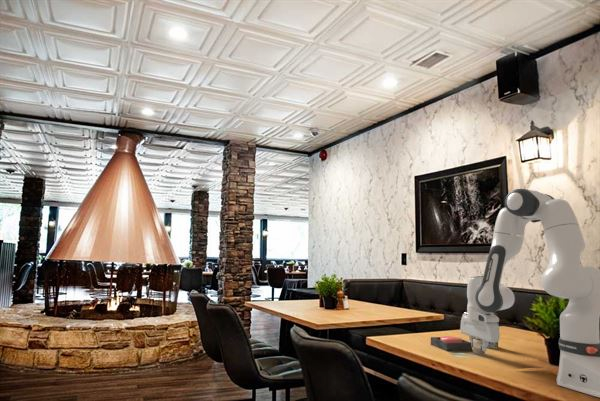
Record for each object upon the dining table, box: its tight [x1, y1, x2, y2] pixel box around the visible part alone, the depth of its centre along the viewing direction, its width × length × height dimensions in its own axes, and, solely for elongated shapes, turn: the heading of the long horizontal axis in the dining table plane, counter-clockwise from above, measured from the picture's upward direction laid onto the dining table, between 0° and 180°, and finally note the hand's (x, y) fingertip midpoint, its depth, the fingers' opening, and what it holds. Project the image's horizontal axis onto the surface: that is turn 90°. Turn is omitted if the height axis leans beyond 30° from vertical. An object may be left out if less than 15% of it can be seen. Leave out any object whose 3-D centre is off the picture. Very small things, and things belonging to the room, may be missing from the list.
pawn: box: [472, 338, 486, 357], centre depth 172 cm, size 4×4×6 cm
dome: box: [439, 335, 463, 343], centre depth 183 cm, size 9×9×4 cm
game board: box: [430, 336, 490, 358], centre depth 177 cm, size 24×16×4 cm, turn 15°
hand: (478, 349), depth 172 cm, fingers closed on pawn, 4 cm apart
